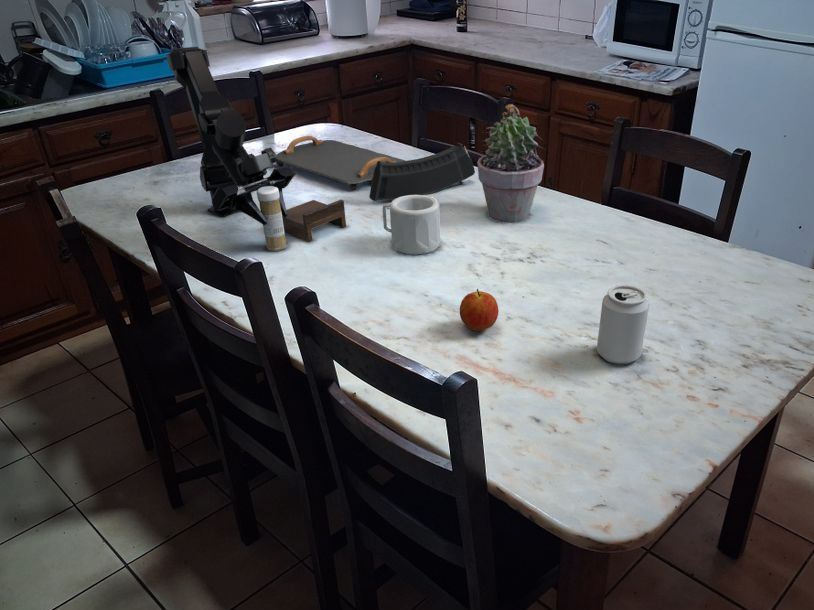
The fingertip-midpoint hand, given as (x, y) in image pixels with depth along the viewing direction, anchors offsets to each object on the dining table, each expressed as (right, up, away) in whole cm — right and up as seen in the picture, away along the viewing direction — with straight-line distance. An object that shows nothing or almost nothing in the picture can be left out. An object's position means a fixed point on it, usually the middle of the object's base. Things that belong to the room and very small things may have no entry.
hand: (276, 220), depth 151 cm
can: (+67, -29, -31) cm, 79 cm away
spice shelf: (+5, +1, +13) cm, 14 cm away
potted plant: (+52, +4, +20) cm, 55 cm away
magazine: (+30, +13, +33) cm, 47 cm away
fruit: (+43, -24, -24) cm, 55 cm away
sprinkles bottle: (-1, -5, +5) cm, 7 cm away
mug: (+29, -4, +6) cm, 30 cm away
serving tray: (+5, +23, +49) cm, 54 cm away
